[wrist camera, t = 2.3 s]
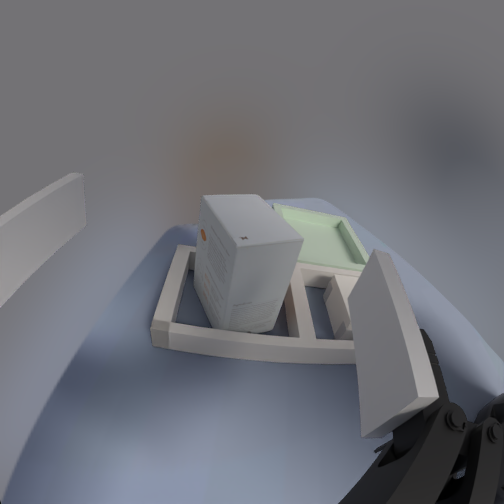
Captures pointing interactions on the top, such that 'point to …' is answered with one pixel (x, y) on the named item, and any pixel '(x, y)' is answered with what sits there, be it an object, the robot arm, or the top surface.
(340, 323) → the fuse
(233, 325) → the small box
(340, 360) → the beige divided frame
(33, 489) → the top surface
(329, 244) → the tray
